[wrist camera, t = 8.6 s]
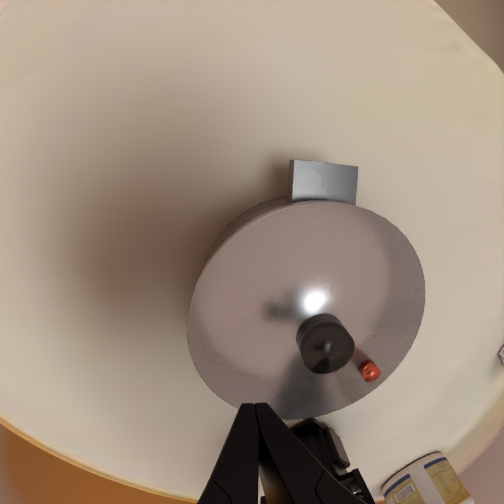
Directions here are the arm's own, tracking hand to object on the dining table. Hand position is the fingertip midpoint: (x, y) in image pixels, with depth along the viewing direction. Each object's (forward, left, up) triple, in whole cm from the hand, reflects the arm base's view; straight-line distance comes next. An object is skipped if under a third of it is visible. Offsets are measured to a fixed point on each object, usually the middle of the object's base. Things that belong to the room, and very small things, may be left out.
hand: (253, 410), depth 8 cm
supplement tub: (0, -47, -11) cm, 48 cm away
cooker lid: (+3, -2, -6) cm, 7 cm away
